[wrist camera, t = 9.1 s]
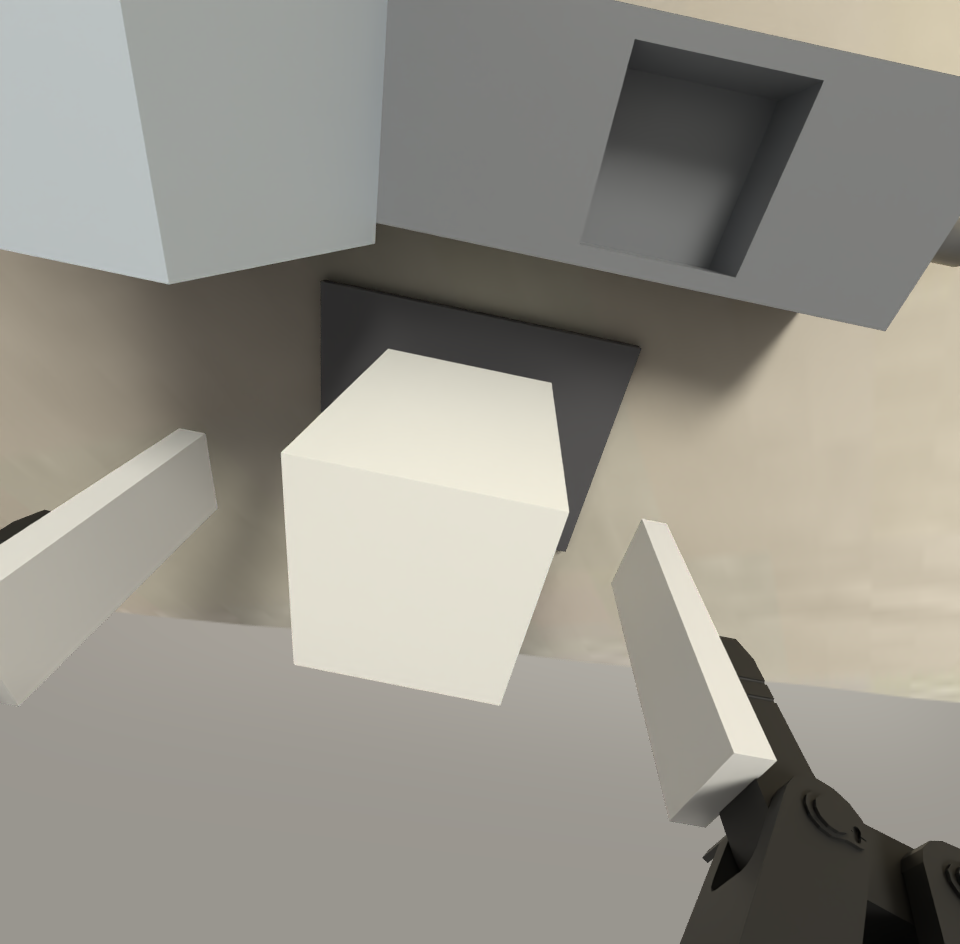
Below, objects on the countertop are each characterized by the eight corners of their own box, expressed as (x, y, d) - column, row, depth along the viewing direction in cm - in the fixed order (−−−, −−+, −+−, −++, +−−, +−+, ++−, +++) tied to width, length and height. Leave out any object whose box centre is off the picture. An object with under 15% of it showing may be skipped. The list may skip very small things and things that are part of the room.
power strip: (123, 159, 15) (-9, 141, 11) (81, -54, 12) (-107, -166, 9) (888, 322, 15) (1003, 357, 12) (1001, 148, 13) (1193, 121, 9)
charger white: (397, 340, 17) (280, 452, 9) (549, 372, 17) (569, 512, 9) (384, 489, 20) (293, 664, 13) (510, 515, 21) (499, 705, 13)
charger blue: (154, 191, 13) (-439, 156, 5) (101, -120, 10) (-1650, -1486, 2) (387, 241, 13) (169, 283, 5) (406, -53, 10) (-72, -1099, 2)
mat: (325, 497, 22) (321, 501, 21) (325, 279, 16) (320, 281, 16) (564, 546, 22) (565, 551, 21) (638, 346, 17) (641, 348, 16)
